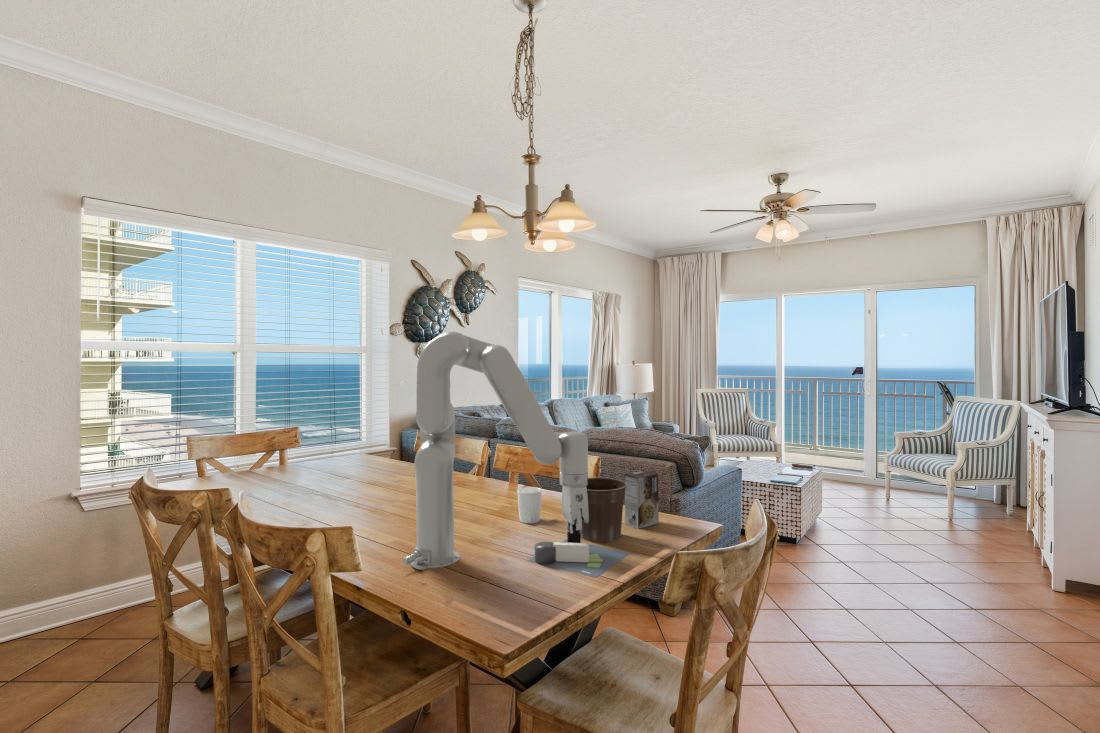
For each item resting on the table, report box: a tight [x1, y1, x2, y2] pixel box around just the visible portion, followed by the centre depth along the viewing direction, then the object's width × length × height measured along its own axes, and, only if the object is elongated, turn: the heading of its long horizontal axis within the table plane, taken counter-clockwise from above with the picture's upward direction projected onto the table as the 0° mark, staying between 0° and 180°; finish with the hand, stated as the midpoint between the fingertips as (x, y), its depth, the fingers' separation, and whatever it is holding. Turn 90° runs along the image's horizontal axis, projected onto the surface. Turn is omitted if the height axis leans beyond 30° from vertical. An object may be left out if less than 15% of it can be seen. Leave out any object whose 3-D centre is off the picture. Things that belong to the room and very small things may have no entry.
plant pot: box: [581, 477, 627, 543], centre depth 159 cm, size 16×16×16 cm
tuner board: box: [527, 538, 631, 579], centre depth 142 cm, size 19×20×1 cm
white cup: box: [517, 486, 543, 524], centre depth 176 cm, size 8×8×10 cm
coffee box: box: [624, 469, 660, 530], centre depth 172 cm, size 9×6×16 cm
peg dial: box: [534, 541, 603, 564], centre depth 139 cm, size 17×6×4 cm, turn 83°
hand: (574, 546), depth 145 cm, fingers closed
